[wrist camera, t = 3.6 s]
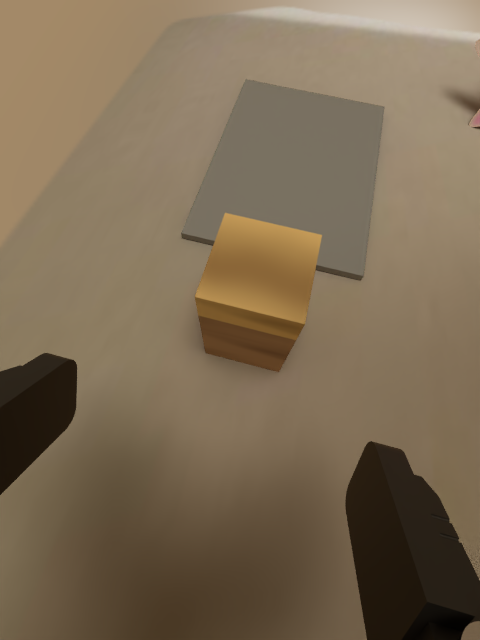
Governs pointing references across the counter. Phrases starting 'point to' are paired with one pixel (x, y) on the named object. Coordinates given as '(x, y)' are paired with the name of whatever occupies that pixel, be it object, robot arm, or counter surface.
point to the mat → (295, 171)
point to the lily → (476, 121)
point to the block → (256, 290)
